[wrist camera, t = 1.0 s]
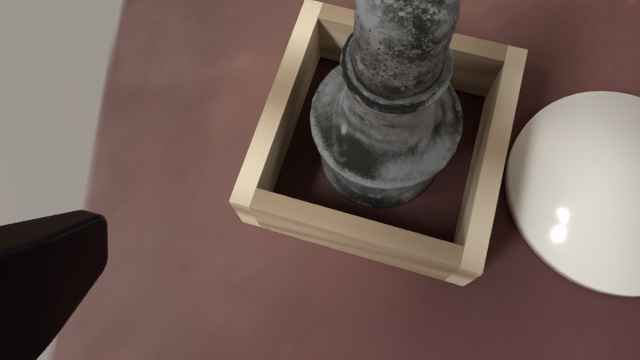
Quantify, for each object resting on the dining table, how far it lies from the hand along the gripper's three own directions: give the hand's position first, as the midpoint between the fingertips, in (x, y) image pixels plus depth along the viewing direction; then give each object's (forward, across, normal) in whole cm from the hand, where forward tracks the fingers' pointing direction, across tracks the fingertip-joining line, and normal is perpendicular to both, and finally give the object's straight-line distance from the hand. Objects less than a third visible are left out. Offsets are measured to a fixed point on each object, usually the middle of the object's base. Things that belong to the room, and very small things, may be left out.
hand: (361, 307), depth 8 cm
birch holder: (+15, +1, +3) cm, 16 cm away
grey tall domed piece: (+16, +1, +3) cm, 16 cm away
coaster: (+16, -9, +2) cm, 19 cm away
